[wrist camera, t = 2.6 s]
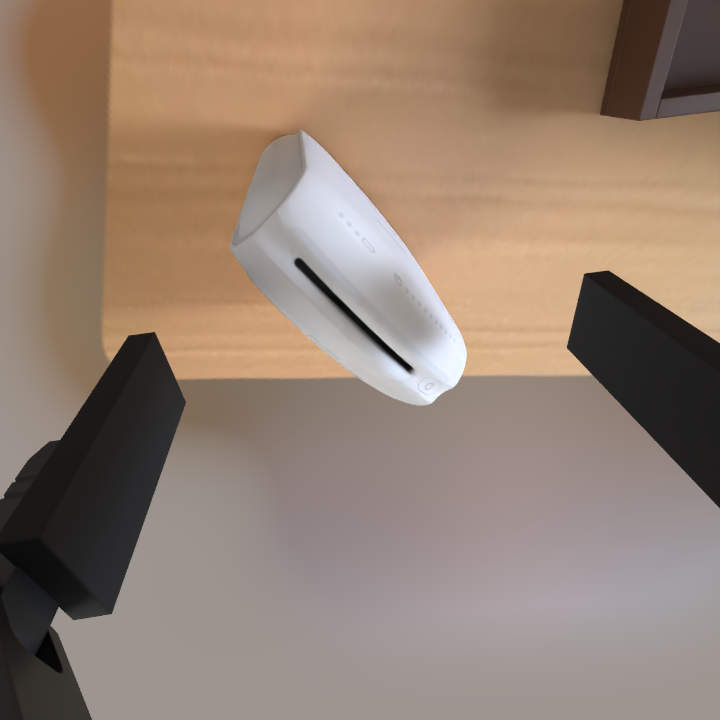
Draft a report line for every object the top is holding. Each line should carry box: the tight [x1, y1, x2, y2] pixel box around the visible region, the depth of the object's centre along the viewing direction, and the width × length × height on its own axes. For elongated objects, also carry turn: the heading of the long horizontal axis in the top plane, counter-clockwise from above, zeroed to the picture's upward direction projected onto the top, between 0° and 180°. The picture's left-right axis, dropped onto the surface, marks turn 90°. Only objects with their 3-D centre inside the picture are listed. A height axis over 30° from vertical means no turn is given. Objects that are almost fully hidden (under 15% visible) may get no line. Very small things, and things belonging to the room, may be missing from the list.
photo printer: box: [230, 130, 467, 405], centre depth 18 cm, size 10×4×12 cm, turn 41°
